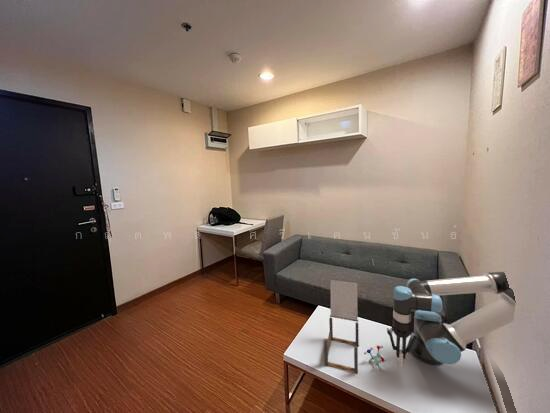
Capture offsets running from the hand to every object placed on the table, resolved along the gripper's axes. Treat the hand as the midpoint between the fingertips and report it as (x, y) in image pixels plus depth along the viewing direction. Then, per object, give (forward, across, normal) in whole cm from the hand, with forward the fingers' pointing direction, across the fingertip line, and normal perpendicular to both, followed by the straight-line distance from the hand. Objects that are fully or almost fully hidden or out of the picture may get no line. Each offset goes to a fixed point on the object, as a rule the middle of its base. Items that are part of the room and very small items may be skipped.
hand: (400, 363), depth 110 cm
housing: (+3, +28, 0) cm, 28 cm away
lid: (-21, +28, -13) cm, 37 cm away
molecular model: (+3, +12, 0) cm, 12 cm away
